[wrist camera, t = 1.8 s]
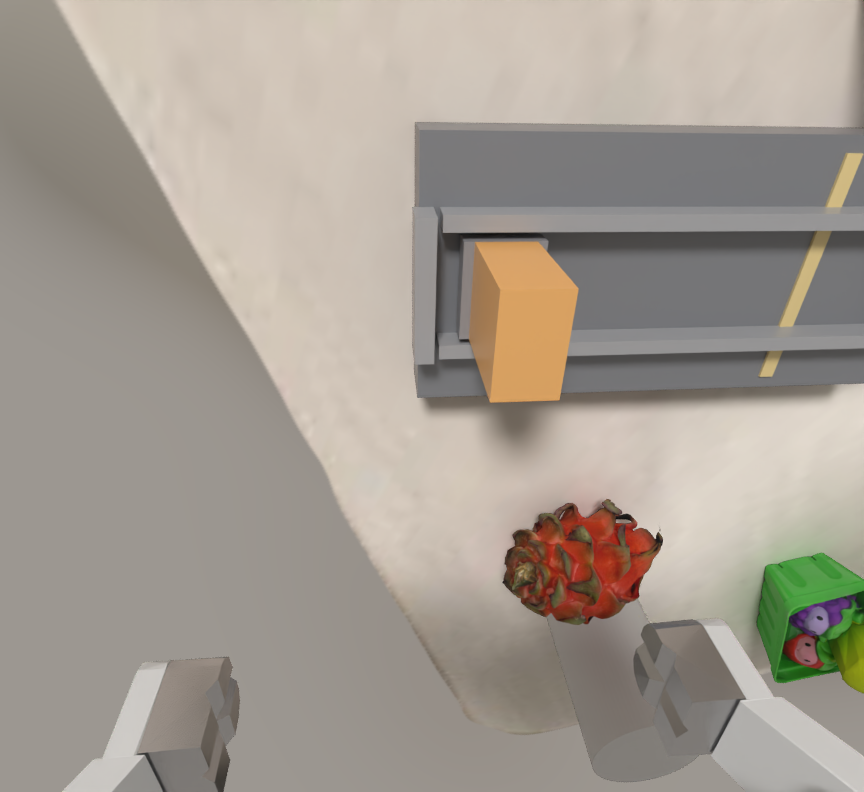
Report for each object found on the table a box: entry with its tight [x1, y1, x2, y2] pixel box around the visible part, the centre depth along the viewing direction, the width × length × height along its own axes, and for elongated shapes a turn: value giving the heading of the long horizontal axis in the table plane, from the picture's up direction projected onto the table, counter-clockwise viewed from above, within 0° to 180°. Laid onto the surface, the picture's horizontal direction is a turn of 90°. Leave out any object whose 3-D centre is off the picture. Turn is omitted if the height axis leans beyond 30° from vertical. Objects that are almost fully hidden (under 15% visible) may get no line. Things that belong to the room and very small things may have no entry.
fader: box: [456, 234, 579, 403], centre depth 25 cm, size 5×4×7 cm
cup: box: [547, 598, 699, 782], centre depth 44 cm, size 8×8×12 cm
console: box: [412, 122, 864, 398], centre depth 29 cm, size 14×29×5 cm, turn 89°
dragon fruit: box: [502, 499, 663, 625], centre depth 40 cm, size 8×8×12 cm
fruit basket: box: [757, 553, 864, 693], centre depth 45 cm, size 11×9×11 cm
